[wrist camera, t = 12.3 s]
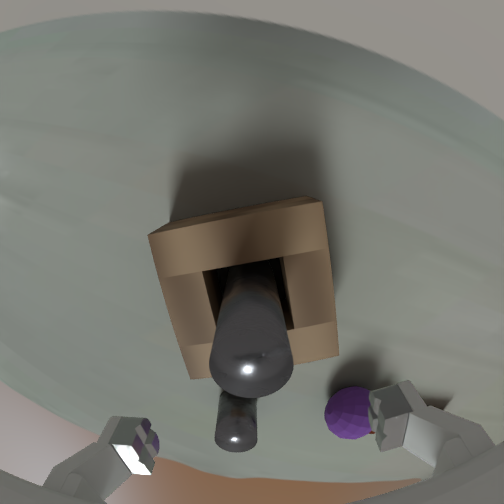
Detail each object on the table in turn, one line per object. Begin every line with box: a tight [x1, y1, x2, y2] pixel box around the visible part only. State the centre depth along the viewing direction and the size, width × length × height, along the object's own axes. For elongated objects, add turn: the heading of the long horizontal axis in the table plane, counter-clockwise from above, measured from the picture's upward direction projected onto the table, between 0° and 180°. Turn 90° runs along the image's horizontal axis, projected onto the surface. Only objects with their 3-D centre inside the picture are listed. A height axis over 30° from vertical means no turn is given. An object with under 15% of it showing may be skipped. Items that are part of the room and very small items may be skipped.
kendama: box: [324, 386, 449, 439], centre depth 30 cm, size 6×6×20 cm
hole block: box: [148, 196, 339, 379], centre depth 25 cm, size 12×12×6 cm
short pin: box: [215, 391, 257, 452], centre depth 28 cm, size 4×4×6 cm
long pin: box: [209, 260, 294, 398], centre depth 21 cm, size 4×4×14 cm
